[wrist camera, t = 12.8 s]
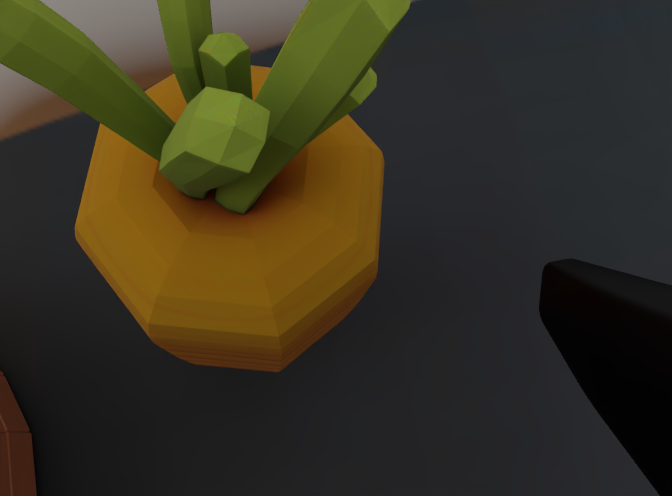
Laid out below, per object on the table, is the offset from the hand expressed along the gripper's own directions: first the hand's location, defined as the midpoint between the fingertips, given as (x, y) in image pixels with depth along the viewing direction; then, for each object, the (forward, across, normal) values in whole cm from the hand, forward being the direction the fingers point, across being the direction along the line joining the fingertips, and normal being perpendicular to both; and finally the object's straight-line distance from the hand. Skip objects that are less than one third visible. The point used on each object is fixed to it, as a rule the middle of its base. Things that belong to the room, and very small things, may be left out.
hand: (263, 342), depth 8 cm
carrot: (+9, 0, +6) cm, 11 cm away
